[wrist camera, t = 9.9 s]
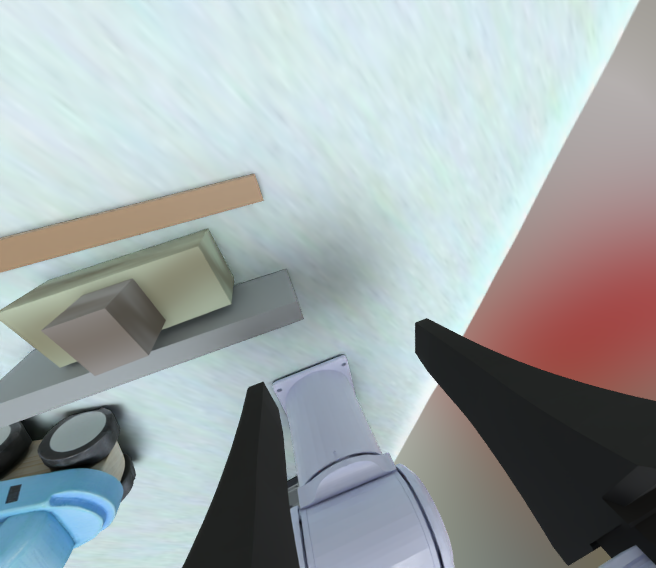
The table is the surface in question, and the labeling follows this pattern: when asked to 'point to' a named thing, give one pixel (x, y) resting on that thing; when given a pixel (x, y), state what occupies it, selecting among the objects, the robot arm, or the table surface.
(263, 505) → the robot arm
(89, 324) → the beige block with knob
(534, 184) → the table surface
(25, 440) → the toy excavator
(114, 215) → the grey and tan bars
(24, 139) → the table surface
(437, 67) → the table surface
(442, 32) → the table surface
